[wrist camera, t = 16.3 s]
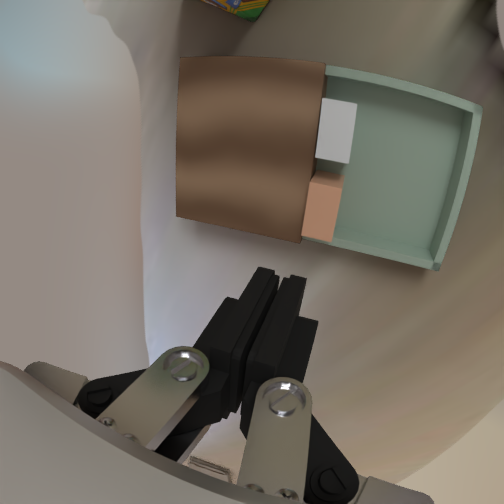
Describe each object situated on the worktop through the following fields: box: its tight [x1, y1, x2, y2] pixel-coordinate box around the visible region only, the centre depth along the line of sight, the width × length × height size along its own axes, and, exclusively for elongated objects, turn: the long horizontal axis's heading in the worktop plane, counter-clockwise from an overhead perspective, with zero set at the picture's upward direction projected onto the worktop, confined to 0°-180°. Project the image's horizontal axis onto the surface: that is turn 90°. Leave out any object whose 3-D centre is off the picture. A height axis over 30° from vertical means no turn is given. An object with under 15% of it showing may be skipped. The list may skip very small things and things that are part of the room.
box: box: [302, 65, 483, 271], centre depth 23 cm, size 15×13×3 cm
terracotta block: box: [301, 170, 345, 242], centre depth 25 cm, size 4×4×2 cm
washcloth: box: [188, 457, 232, 483], centre depth 70 cm, size 12×18×3 cm, turn 0°
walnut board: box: [176, 56, 328, 243], centre depth 26 cm, size 15×12×4 cm
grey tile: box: [315, 98, 357, 164], centre depth 22 cm, size 4×4×2 cm
